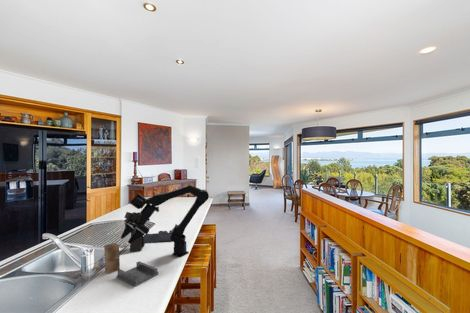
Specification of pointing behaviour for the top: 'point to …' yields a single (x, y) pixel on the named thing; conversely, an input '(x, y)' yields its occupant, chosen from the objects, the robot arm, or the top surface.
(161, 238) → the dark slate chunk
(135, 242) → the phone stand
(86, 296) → the top surface
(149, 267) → the bottom track
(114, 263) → the walnut block
